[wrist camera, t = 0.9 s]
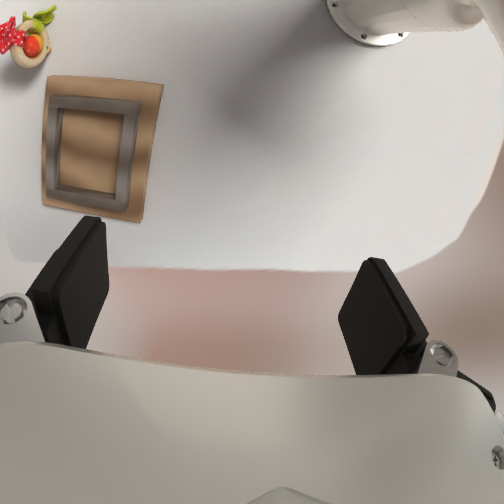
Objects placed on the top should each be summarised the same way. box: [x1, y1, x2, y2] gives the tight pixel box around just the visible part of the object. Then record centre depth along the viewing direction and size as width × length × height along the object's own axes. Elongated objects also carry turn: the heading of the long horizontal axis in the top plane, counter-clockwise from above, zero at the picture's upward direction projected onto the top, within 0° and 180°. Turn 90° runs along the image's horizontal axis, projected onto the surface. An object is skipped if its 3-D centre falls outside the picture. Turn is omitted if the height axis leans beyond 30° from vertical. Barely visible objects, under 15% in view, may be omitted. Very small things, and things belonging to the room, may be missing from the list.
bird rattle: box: [0, 5, 56, 69], centre depth 25 cm, size 6×11×9 cm
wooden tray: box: [42, 75, 164, 223], centre depth 38 cm, size 20×17×4 cm
